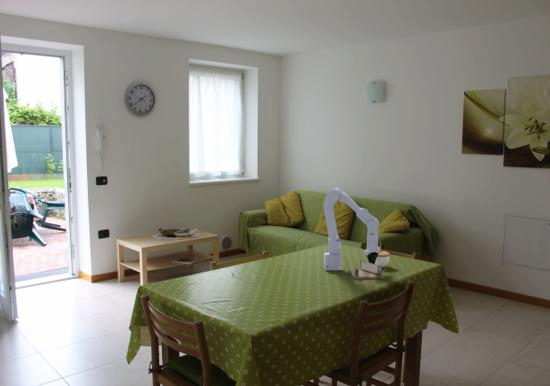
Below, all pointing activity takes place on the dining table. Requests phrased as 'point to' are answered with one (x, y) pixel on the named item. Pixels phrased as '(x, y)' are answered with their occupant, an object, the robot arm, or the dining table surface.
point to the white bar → (371, 267)
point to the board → (364, 274)
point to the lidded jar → (382, 258)
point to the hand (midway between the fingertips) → (371, 266)
